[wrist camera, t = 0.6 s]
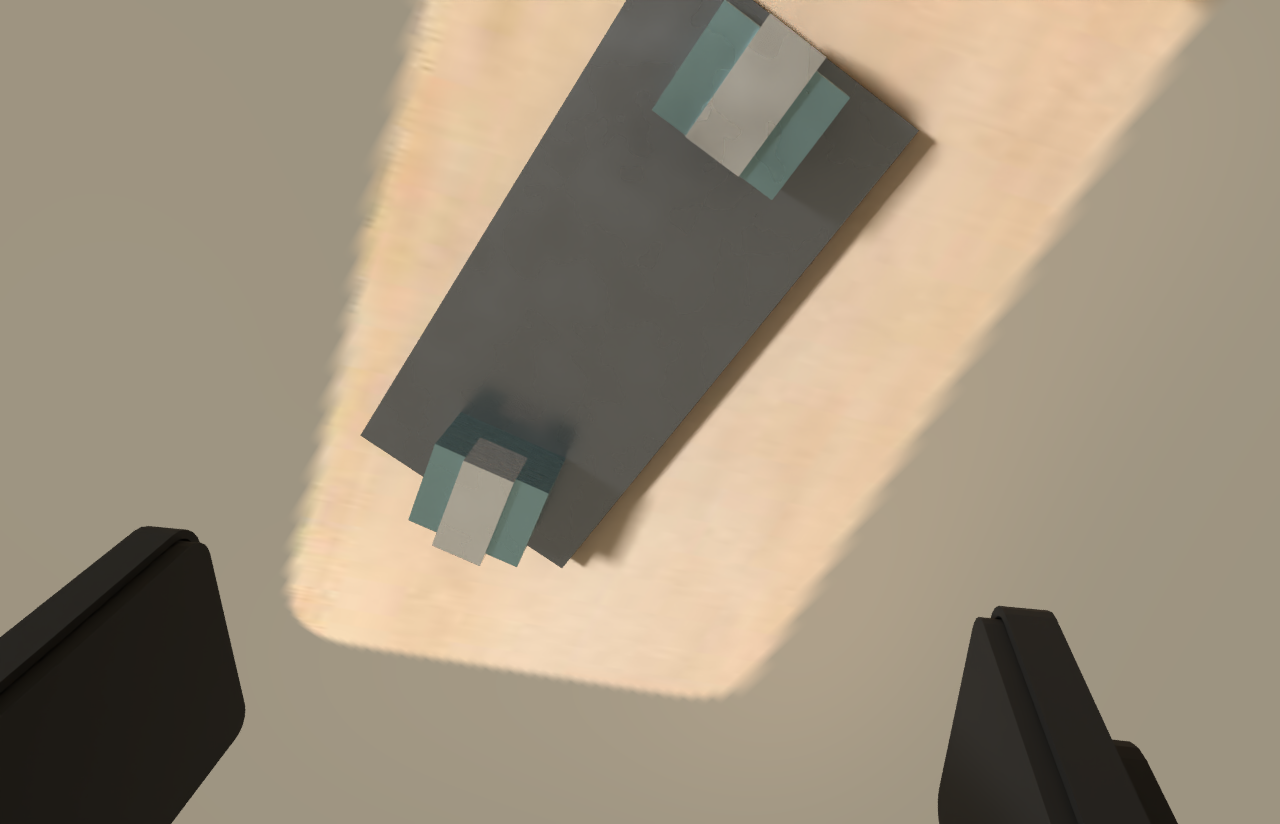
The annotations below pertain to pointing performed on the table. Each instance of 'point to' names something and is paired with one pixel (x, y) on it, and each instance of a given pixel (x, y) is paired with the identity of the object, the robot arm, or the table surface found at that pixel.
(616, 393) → the workpiece vise
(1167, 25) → the table surface
